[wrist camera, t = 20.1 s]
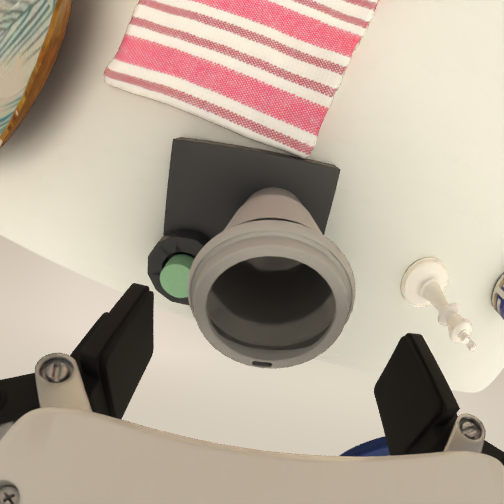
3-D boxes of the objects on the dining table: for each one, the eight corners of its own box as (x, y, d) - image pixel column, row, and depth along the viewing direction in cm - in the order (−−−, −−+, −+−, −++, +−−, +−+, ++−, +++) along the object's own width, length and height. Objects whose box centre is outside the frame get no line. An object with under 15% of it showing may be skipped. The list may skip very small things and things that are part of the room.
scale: (298, 302, 28) (301, 326, 25) (160, 276, 28) (147, 296, 24) (335, 165, 23) (345, 173, 20) (172, 136, 23) (156, 139, 19)
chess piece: (426, 247, 25) (483, 308, 16) (454, 274, 26) (507, 336, 16) (390, 287, 27) (431, 361, 17) (421, 311, 27) (462, 381, 18)
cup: (221, 253, 24) (180, 363, 13) (228, 167, 21) (179, 221, 11) (313, 265, 24) (337, 381, 13) (329, 180, 21) (383, 247, 10)
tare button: (200, 289, 24) (195, 301, 23) (166, 282, 24) (159, 293, 23) (203, 257, 23) (198, 268, 22) (167, 250, 23) (160, 260, 21)
